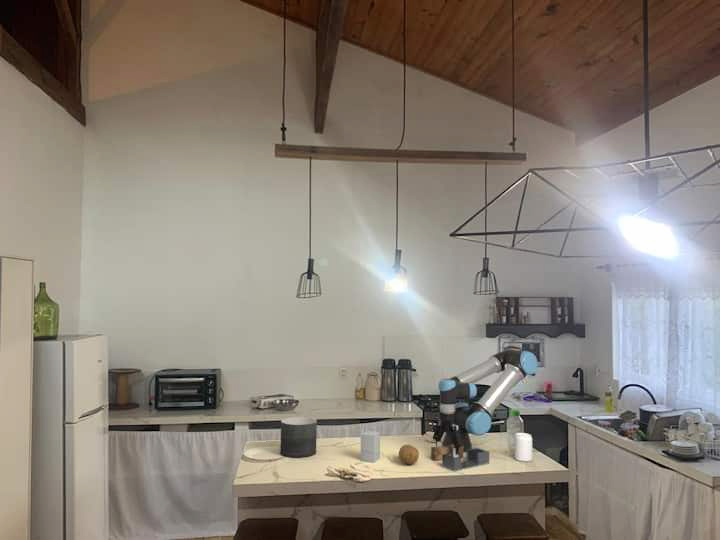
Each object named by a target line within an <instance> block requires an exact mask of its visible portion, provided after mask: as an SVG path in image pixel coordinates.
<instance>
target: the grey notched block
mask: <svg viewBox="0 0 720 540" xmlns="http://www.w3.org/2000/svg"><path fill="white" fill-rule="evenodd" d="M441 464H442V466H441V467H442V468H444V469H446V470H448V471H451V472H455V473H456V472H459V471H464V470H467V469H472V468H476V467H481V466H485V465H489V464H490V450H489V451H488V450H485V449H483V448H479V447H472V449H468V450H466V452H465V460H462V458H461V457H456V458H454V457H451V454H450V453H448V454H443V455H442V463H441ZM463 469H464V470H463Z"/></svg>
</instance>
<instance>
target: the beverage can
mask: <svg viewBox="0 0 720 540" xmlns="http://www.w3.org/2000/svg"><path fill="white" fill-rule="evenodd" d="M514 459H515V460H517V461H519V462H521V461H523V462H522V463H529V462H531V461H533V437H532V434H530V433H526V432H517V433H515V435H514Z"/></svg>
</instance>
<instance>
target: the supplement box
mask: <svg viewBox="0 0 720 540" xmlns="http://www.w3.org/2000/svg"><path fill="white" fill-rule="evenodd" d="M380 459H381V432H380V431H373V430H372V431H371V430H365V431H363V432H362V433H360V461H362V462H370V463H376V462H377V461H379V460H380Z"/></svg>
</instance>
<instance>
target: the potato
mask: <svg viewBox="0 0 720 540" xmlns="http://www.w3.org/2000/svg"><path fill="white" fill-rule="evenodd" d="M419 453H420V452H419V450H418V449H417V447H415V446H413V445H411V444H405V445H402V446H401V447H400V449H399V451H398V458H399V460H400V461H401V462H402V463H405V464H406V465H413V464H415V463H416V462H418V459H419V457H420V455H419Z"/></svg>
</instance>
